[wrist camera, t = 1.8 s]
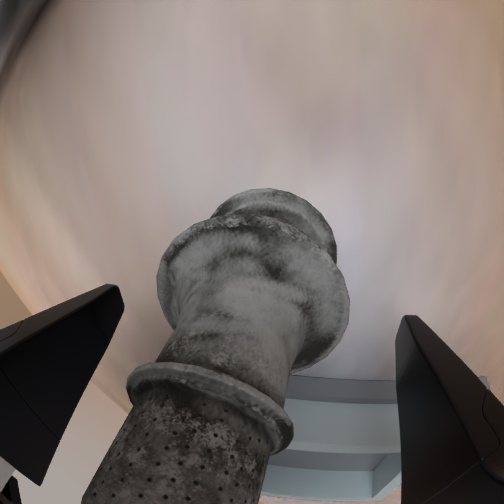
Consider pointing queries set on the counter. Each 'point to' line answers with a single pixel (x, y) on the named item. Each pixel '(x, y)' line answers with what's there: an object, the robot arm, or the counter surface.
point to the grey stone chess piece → (227, 354)
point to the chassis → (339, 441)
